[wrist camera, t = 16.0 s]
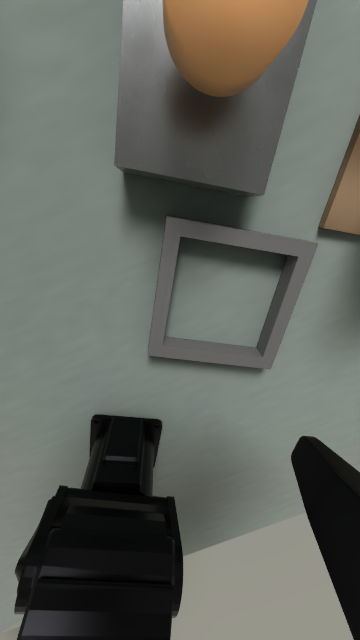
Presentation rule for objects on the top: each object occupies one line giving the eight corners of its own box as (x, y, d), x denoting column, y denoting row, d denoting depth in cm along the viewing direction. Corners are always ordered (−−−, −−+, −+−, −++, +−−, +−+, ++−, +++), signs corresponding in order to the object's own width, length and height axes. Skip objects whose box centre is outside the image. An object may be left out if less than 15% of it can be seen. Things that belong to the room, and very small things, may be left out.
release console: (247, 196, 17) (263, 194, 14) (123, 171, 16) (114, 165, 13) (303, -27, 12) (341, -90, 10) (139, -78, 12) (132, -165, 9)
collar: (263, 359, 22) (270, 369, 21) (148, 345, 21) (147, 355, 19) (306, 240, 18) (318, 243, 17) (166, 215, 17) (166, 216, 15)
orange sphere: (246, 125, 12) (285, 88, 8) (156, 104, 12) (153, 54, 8) (274, -2, 11) (341, -124, 7) (171, -33, 10) (176, -188, 6)
